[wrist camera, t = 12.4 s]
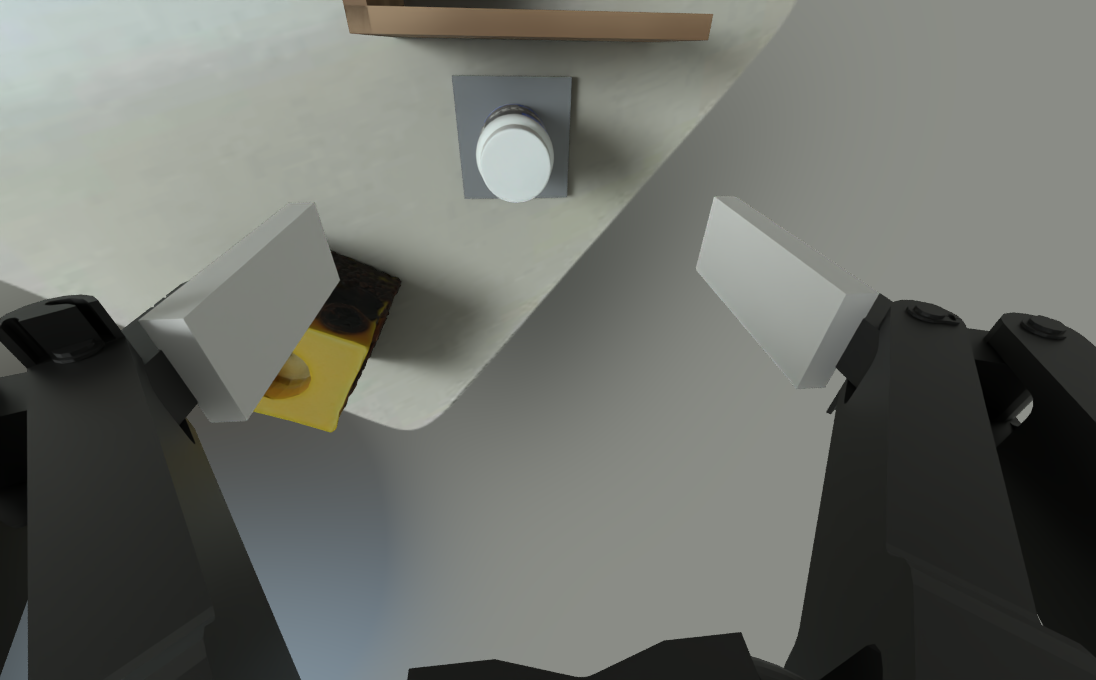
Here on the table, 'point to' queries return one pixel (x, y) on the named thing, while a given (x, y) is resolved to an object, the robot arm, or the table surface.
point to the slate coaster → (490, 92)
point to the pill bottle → (514, 153)
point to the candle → (333, 348)
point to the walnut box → (521, 23)
